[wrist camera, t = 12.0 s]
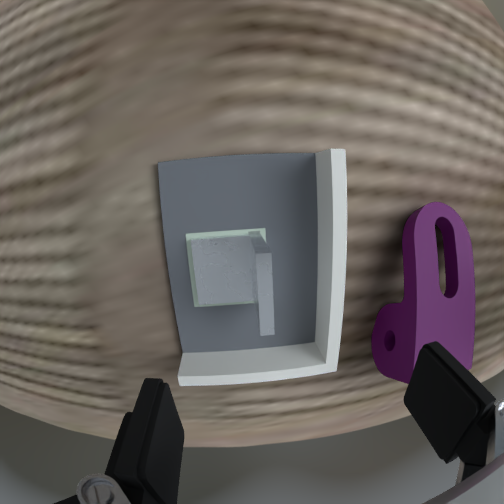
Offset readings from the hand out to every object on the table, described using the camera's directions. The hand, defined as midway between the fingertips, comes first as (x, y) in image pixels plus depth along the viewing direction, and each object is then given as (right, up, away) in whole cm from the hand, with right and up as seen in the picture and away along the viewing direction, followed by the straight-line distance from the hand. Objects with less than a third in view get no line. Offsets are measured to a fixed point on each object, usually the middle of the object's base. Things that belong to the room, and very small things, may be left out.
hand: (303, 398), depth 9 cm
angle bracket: (-4, +4, +17) cm, 17 cm away
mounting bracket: (+17, +2, +20) cm, 26 cm away
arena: (-2, +4, +17) cm, 18 cm away
